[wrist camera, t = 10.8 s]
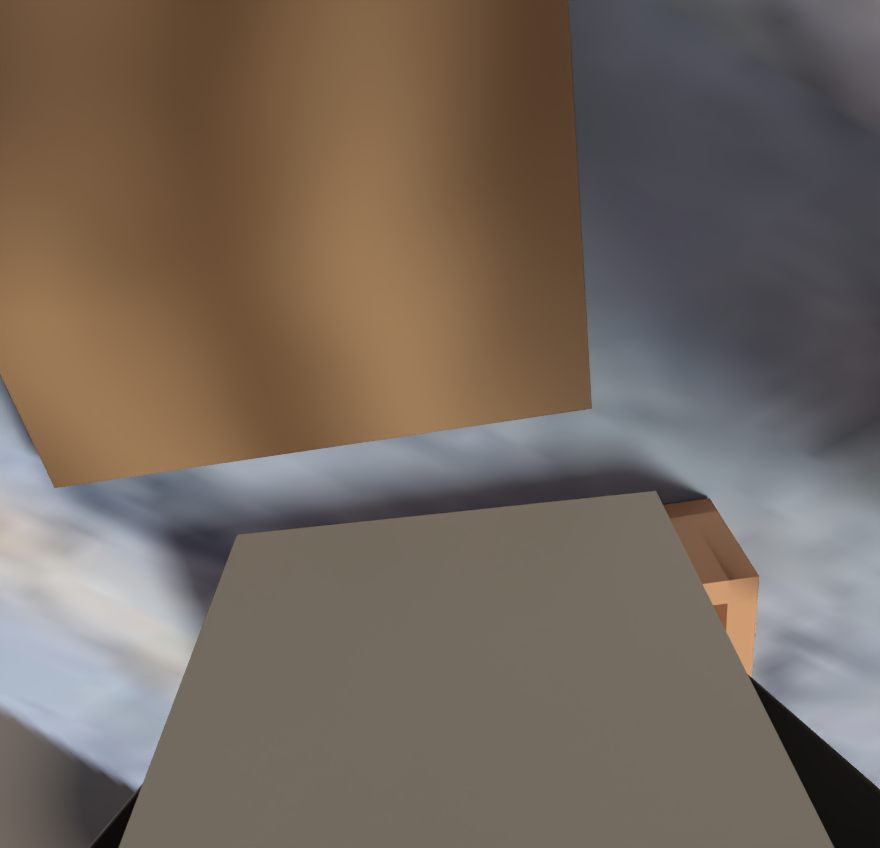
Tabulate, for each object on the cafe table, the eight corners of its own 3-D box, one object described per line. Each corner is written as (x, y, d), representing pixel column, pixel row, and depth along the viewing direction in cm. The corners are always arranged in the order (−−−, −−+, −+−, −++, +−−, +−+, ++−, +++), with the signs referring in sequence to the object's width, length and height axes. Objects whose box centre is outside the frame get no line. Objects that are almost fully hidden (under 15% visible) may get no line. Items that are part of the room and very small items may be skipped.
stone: (656, 491, 7) (896, 972, 3) (647, 769, 9) (797, 1267, 5) (237, 534, 7) (46, 1038, 4) (318, 799, 9) (247, 1300, 5)
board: (537, -323, 12) (547, -352, 11) (582, 389, 18) (591, 408, 17) (-224, -178, 12) (-272, -196, 12) (71, 466, 19) (54, 488, 18)
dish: (709, 498, 20) (759, 576, 17) (702, 732, 24) (740, 825, 21) (258, 562, 20) (233, 648, 17) (332, 780, 25) (322, 877, 22)
